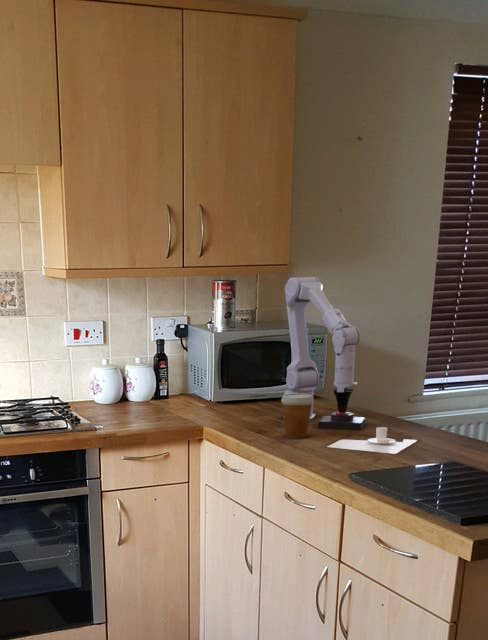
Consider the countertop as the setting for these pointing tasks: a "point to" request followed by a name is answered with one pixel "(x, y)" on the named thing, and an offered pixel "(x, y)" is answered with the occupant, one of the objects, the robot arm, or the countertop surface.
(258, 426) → the countertop surface
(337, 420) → the control block
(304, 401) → the disposable coffee cup
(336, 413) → the red push button
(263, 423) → the countertop surface
